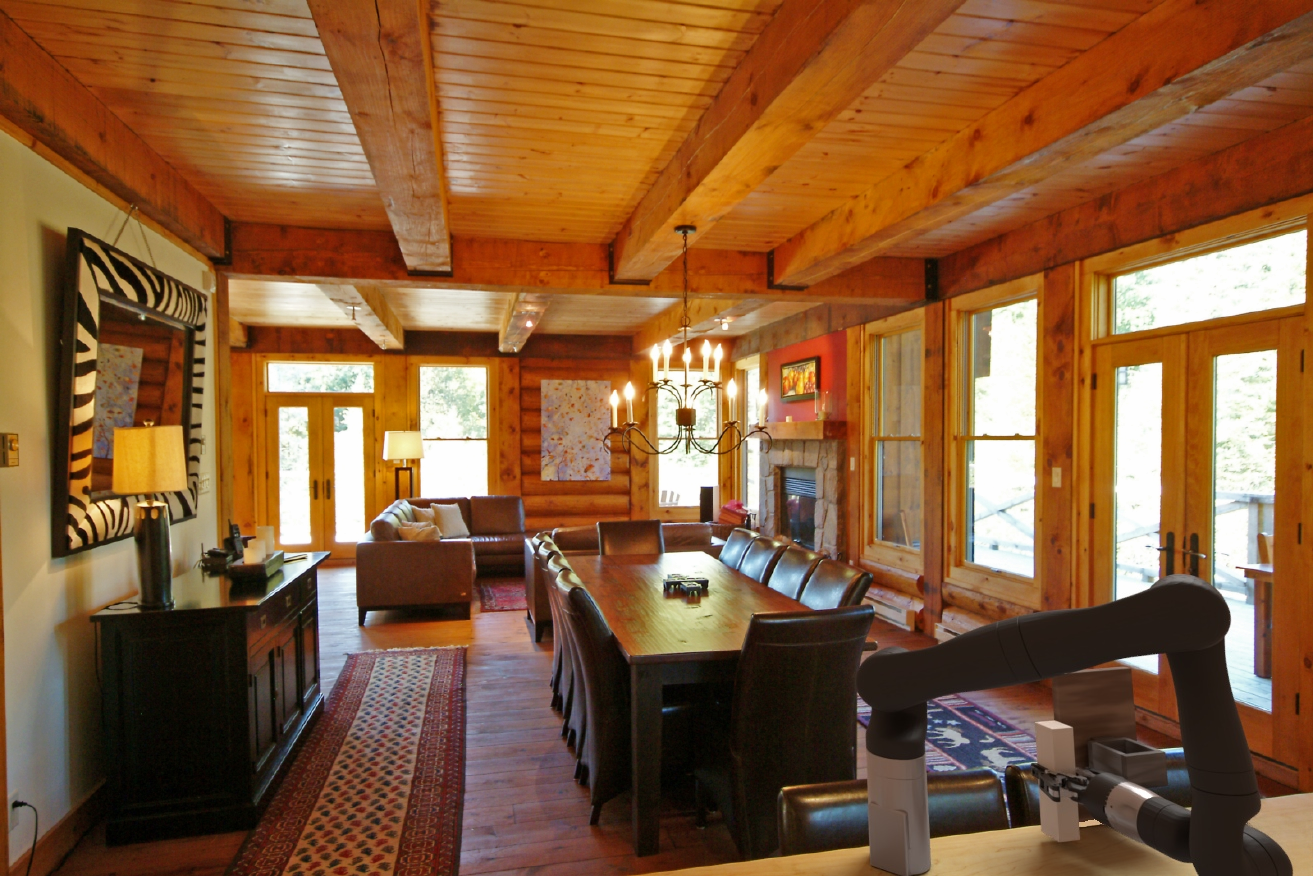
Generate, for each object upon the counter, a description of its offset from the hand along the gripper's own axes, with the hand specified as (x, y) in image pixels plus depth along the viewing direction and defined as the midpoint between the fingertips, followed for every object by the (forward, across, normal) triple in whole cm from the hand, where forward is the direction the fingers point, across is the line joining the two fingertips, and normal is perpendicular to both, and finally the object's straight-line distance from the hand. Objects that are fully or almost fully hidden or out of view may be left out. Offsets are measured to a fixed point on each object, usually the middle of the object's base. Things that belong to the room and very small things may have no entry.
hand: (1044, 767), depth 122 cm
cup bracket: (-1, -14, +11) cm, 18 cm away
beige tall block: (-3, 0, +10) cm, 10 cm away
